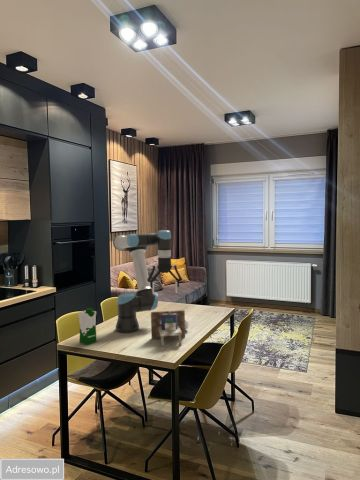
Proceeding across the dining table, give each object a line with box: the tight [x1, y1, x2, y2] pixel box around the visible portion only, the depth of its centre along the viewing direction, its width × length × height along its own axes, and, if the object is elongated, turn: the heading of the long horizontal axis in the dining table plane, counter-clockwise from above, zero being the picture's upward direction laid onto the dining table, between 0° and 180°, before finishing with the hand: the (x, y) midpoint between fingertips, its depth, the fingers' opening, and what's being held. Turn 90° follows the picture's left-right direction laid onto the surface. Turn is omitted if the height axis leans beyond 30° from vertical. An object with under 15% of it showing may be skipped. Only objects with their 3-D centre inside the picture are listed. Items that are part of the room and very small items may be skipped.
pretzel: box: [185, 318, 190, 331], centre depth 232 cm, size 11×12×9 cm
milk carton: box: [77, 307, 98, 346], centre depth 213 cm, size 9×9×20 cm
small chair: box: [150, 309, 186, 348], centre depth 212 cm, size 20×16×16 cm
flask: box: [161, 310, 178, 330], centre depth 210 cm, size 9×3×11 cm, turn 95°
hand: (164, 293), depth 214 cm, fingers open, 13 cm apart
